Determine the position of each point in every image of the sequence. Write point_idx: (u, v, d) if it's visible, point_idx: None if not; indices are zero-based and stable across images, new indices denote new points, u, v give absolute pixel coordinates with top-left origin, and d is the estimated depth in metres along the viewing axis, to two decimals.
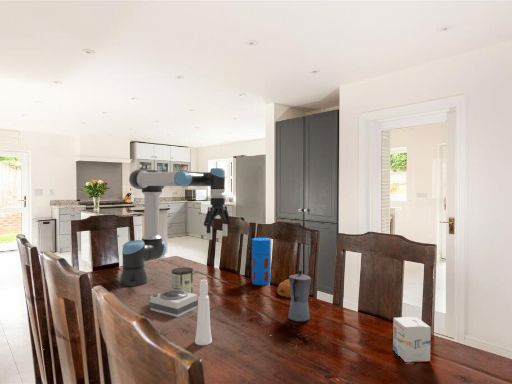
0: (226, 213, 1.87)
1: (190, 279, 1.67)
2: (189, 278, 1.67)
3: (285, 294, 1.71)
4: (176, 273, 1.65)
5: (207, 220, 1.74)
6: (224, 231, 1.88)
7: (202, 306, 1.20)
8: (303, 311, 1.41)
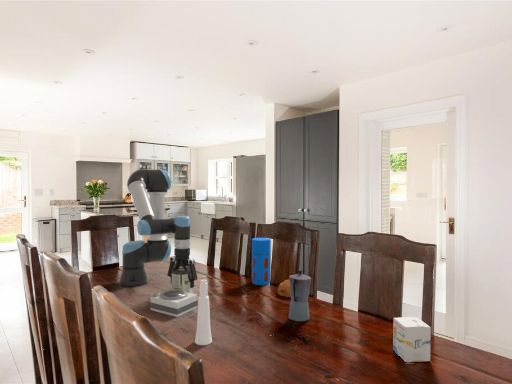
0: (190, 268, 1.65)
1: None
2: None
3: (285, 294, 1.71)
4: (176, 273, 1.65)
5: None
6: None
7: (202, 306, 1.20)
8: (303, 311, 1.41)
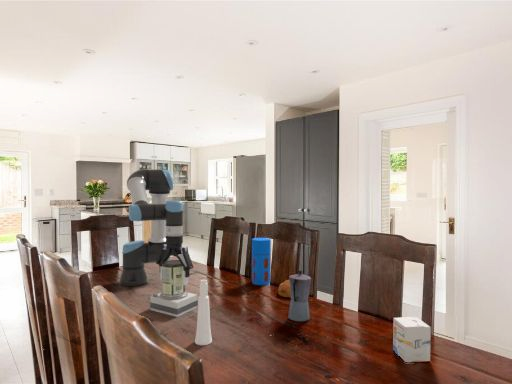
0: (183, 256, 1.50)
1: (182, 272, 1.53)
2: (181, 272, 1.52)
3: (286, 294, 1.71)
4: (167, 266, 1.50)
5: None
6: None
7: (202, 306, 1.20)
8: (303, 311, 1.41)
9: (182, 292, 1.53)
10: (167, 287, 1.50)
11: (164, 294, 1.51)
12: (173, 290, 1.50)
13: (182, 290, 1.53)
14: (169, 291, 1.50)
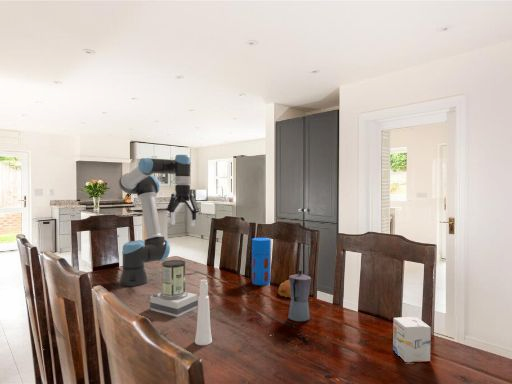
0: (191, 202, 1.75)
1: (182, 273, 1.53)
2: (182, 272, 1.52)
3: (286, 294, 1.71)
4: (167, 266, 1.50)
5: None
6: None
7: (202, 306, 1.20)
8: (303, 311, 1.41)
9: (182, 292, 1.53)
10: (167, 287, 1.50)
11: (164, 294, 1.51)
12: (173, 290, 1.50)
13: (182, 290, 1.53)
14: (169, 291, 1.50)
